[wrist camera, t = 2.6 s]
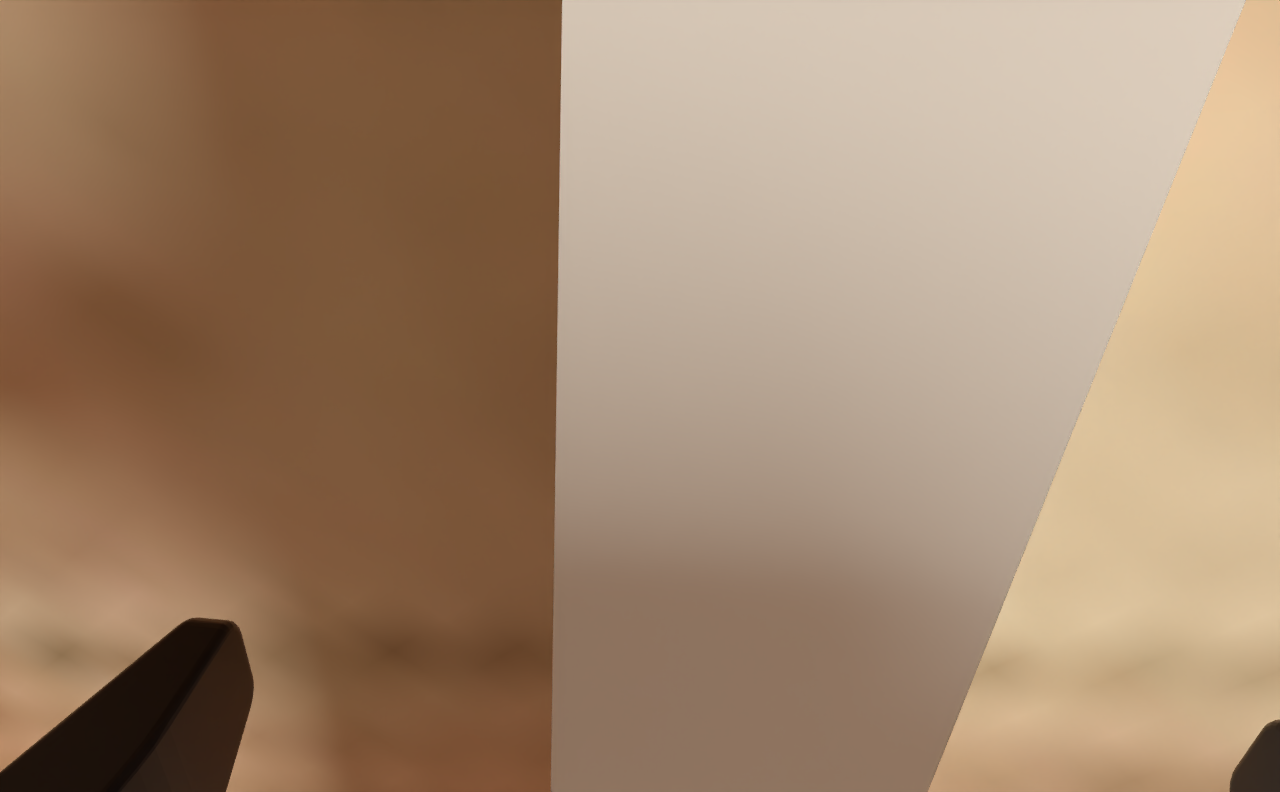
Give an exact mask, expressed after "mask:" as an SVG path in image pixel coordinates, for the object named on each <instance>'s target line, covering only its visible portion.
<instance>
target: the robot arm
mask: <svg viewBox="0 0 1280 792" xmlns="http://www.w3.org/2000/svg"><path fill="white" fill-rule="evenodd" d="M253 690H254V682H253V676H252V672H251V668H250V664H249V660H248V657H247V653H246V649H245V645H244V642H243V638H242V634H241V631H240V629H239V627H238V626H237V625H236V624H235V623H234V622H232V621H229V620H218V619H208V618H191V619H188V620H186V621H184V622H182V623H181V624H180V625H178V626H177V627H176V628H175V629H173V630H172V631H171V632H170V633H168V634H167V635H166V636H165V637H164V638H162V639H161V640H160V641H159V642H158V643H156V644H155V645H154V646H153V647H151V648H150V649H149V650H148V651H147V652H145V653H144V654H143V655H142V656H141V657H139V658H138V659H137V660H136V661H135V662H133V663H132V664H131V665H130V666H128V667H127V668H126V669H125V670H124V671H122V672H121V673H120V674H119V675H118V676H116V677H115V678H114V679H113V680H111V681H110V682H109V683H108V684H107V685H105V686H104V687H103V688H102V689H101V690H99V691H98V692H97V693H96V694H94V695H93V696H92V697H91V698H90V699H88V700H87V701H86V702H85V703H84V704H82V705H81V706H80V707H79V708H77V709H76V710H75V711H74V712H73V713H71V714H70V715H69V716H68V717H67V718H65V719H64V720H63V721H62V722H60V723H59V724H58V725H57V726H56V727H54V728H53V729H52V730H51V731H50V732H48V733H47V734H46V735H45V736H43V737H42V738H41V739H40V740H39V741H37V742H36V743H35V744H34V745H33V746H31V747H30V748H29V749H28V750H26V751H25V752H24V753H23V754H22V755H20V756H19V757H18V758H17V759H16V760H14V761H13V762H12V763H11V764H9V765H8V766H7V767H6V768H5V769H3V770H2V771H1V772H0V792H226V790H227V786H228V783H229V779H230V776H231V773H232V769H233V766H234V762H235V759H236V756H237V752H238V749H239V745H240V742H241V739H242V735H243V732H244V728H245V725H246V721H247V718H248V715H249V711H250V708H251V704H252V699H253ZM1230 792H1280V720H1274V721H1272V722H1270V723H1268V724H1267V725H1266V726H1265V727H1264V728H1263V729H1262V731H1261V732H1260V734H1259V735H1258V736H1257V738H1256V739H1255V741H1254V742H1253V744H1252V745H1251V746H1250V748H1249V749H1248V751H1247V752H1246V754H1245V755H1244V757H1243V758H1242V759H1241V761H1240V762H1239V764H1238V765H1237V767H1236V768H1235V770H1234V772H1233V774H1232V778H1231V781H1230Z"/></svg>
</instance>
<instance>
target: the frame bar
mask: <svg viewBox="0 0 1280 792" xmlns="http://www.w3.org/2000/svg"><path fill="white" fill-rule="evenodd" d="M1245 1H1246V0H562V49H561V118H560V187H559V256H558V325H557V394H556V463H555V532H554V601H553V670H552V739H551V792H928V790H929V787H930V785H931V782H932V780H933V777H934V775H935V772H936V770H937V767H938V765H939V762H940V760H941V757H942V755H943V752H944V750H945V747H946V745H947V742H948V740H949V737H950V735H951V732H952V730H953V727H954V725H955V722H956V720H957V717H958V715H959V712H960V710H961V707H962V705H963V703H964V700H965V698H966V695H967V693H968V690H969V688H970V685H971V683H972V680H973V678H974V675H975V673H976V670H977V668H978V665H979V663H980V660H981V658H982V655H983V653H984V650H985V648H986V645H987V643H988V640H989V638H990V635H991V633H992V630H993V628H994V625H995V623H996V620H997V618H998V615H999V613H1000V610H1001V608H1002V606H1003V603H1004V601H1005V598H1006V596H1007V593H1008V591H1009V588H1010V586H1011V583H1012V581H1013V578H1014V576H1015V573H1016V571H1017V568H1018V566H1019V563H1020V561H1021V558H1022V556H1023V553H1024V551H1025V548H1026V546H1027V543H1028V541H1029V538H1030V536H1031V533H1032V531H1033V528H1034V526H1035V523H1036V521H1037V518H1038V516H1039V513H1040V511H1041V508H1042V506H1043V504H1044V501H1045V499H1046V496H1047V494H1048V491H1049V489H1050V486H1051V484H1052V481H1053V479H1054V476H1055V474H1056V471H1057V469H1058V466H1059V464H1060V461H1061V459H1062V456H1063V454H1064V451H1065V449H1066V446H1067V444H1068V441H1069V439H1070V436H1071V434H1072V431H1073V429H1074V426H1075V424H1076V421H1077V419H1078V416H1079V414H1080V411H1081V409H1082V407H1083V404H1084V402H1085V399H1086V397H1087V394H1088V392H1089V389H1090V387H1091V384H1092V382H1093V379H1094V377H1095V374H1096V372H1097V369H1098V367H1099V364H1100V362H1101V359H1102V357H1103V354H1104V352H1105V349H1106V347H1107V344H1108V342H1109V339H1110V337H1111V334H1112V332H1113V329H1114V327H1115V324H1116V322H1117V319H1118V317H1119V314H1120V312H1121V310H1122V307H1123V305H1124V302H1125V300H1126V297H1127V295H1128V292H1129V290H1130V287H1131V285H1132V282H1133V280H1134V277H1135V275H1136V272H1137V270H1138V267H1139V265H1140V262H1141V260H1142V257H1143V255H1144V252H1145V250H1146V247H1147V245H1148V242H1149V240H1150V237H1151V235H1152V232H1153V230H1154V227H1155V225H1156V222H1157V220H1158V217H1159V215H1160V213H1161V210H1162V208H1163V205H1164V203H1165V200H1166V198H1167V195H1168V193H1169V190H1170V188H1171V185H1172V183H1173V180H1174V178H1175V175H1176V173H1177V170H1178V168H1179V165H1180V163H1181V160H1182V158H1183V155H1184V153H1185V150H1186V148H1187V145H1188V143H1189V140H1190V138H1191V135H1192V133H1193V130H1194V128H1195V125H1196V123H1197V120H1198V118H1199V116H1200V113H1201V111H1202V108H1203V106H1204V103H1205V101H1206V98H1207V96H1208V93H1209V91H1210V88H1211V86H1212V83H1213V81H1214V78H1215V76H1216V73H1217V71H1218V68H1219V66H1220V63H1221V61H1222V58H1223V56H1224V53H1225V51H1226V48H1227V46H1228V43H1229V41H1230V38H1231V36H1232V33H1233V31H1234V28H1235V26H1236V23H1237V21H1238V19H1239V16H1240V14H1241V11H1242V9H1243V6H1244V4H1245Z"/></svg>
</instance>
